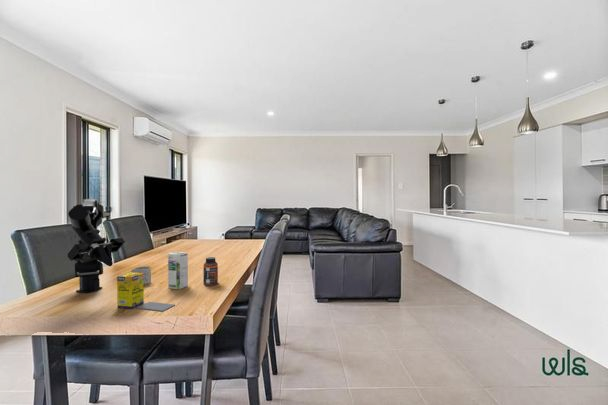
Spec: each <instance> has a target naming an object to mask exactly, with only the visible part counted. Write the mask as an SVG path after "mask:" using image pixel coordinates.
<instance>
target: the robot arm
mask: <svg viewBox="0 0 608 405" xmlns="http://www.w3.org/2000/svg"><path fill="white" fill-rule="evenodd" d="M67 215H68V218H69V221H70V224H71V230H72V231H73V232H74V234H75V235H76V236H77V238H79V240H78V243H74V245H73V246H72V247H71V248H70V250H69V251H68V253H67V258H68V259H69V260H70V261H71V262H72V261H74V273H75V278H79V289H76V292H77V293H85V294H86V293H87V294H89V293H93V292H96V291H99V290H102V289H103V286H101V284H100V283H101V282H100V276H101V275H103V274H104V266H103V264H105V265H106V266H108V267H112V266H113V265H114V263H113V255H112V253H116V252H118V251H119V250H120V249H121V248H122V246H123V245H125V244H124V243H126V241H125V240H124V238H123V237H121V236H120V237H114V238H111V239H110V241H108V242H106V241H107V239H106V237H102V236H101V235H100V233H101V230H100V229H98V228H99V226H100V225H101V224H102V223H103V219H104V218H105V209H104V206H103V205H102V204H100V203H99V200H98V199H95V198H84V199H83V200H82V203H81V204H80V203H79V204H78V203H77V204H74V205H73V206H72V207H71V208H70V210H69V211H68V214H67ZM76 292H75V293H76Z"/></svg>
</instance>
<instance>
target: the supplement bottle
mask: <svg viewBox="0 0 608 405" xmlns="http://www.w3.org/2000/svg"><path fill="white" fill-rule="evenodd" d="M218 264H219V263H218V262H216V257H215V256H214V257H213V256H208V257H206V258H205V262H204V264H203V272H202V273H203V285H205V286H215V285H217V284H218V282H219V277H218V276H219V267H218V266H219V265H218Z"/></svg>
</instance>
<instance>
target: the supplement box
mask: <svg viewBox="0 0 608 405" xmlns="http://www.w3.org/2000/svg"><path fill="white" fill-rule="evenodd" d="M116 292H117V294H116V296H117V298H116V300H117V304H116V307H117V308H119V309H130V310H132V309H134V308H136V307H138V306H140V305H143V304H145V303H144V302H145V301H144V299H145V298H144V296H145V295H144V294H145V293H144V285H143V273H133V272H128V273H124V274H121V275H118V276H116Z"/></svg>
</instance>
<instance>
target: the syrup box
mask: <svg viewBox="0 0 608 405" xmlns="http://www.w3.org/2000/svg"><path fill="white" fill-rule="evenodd" d="M188 257H189V253H188V252H185V251H173V252H169V253H167V270H168V271H167V272H168V273H167V278H168V279H167V281H168V283H167V287H168V289H171V290H172V289H173V290H180V289H181V290H182V289H184V288H185V287H188V286H189V269H188V268H189V261H188V260H189V258H188Z"/></svg>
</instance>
